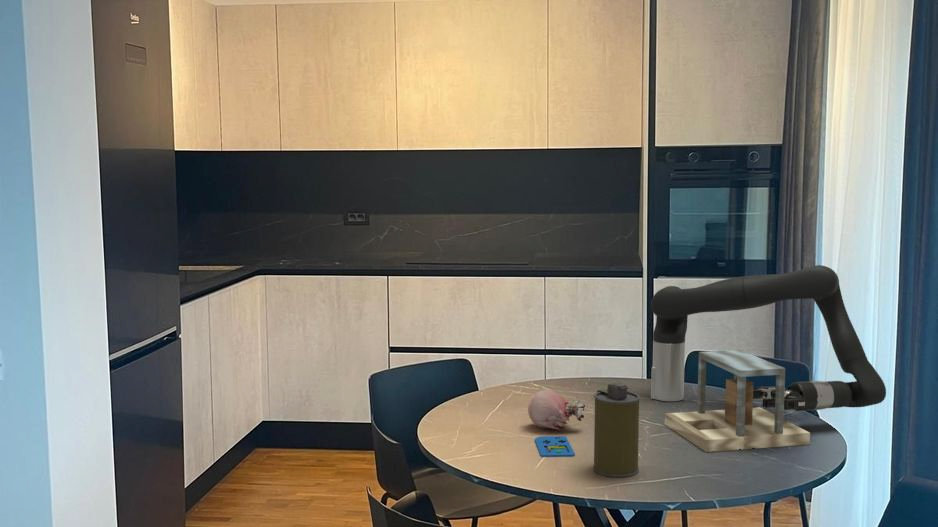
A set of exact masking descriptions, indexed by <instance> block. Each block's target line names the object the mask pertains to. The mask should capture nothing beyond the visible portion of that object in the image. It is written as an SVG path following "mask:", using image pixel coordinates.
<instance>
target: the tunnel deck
mask: <svg viewBox="0 0 938 527" xmlns="http://www.w3.org/2000/svg"><path fill="white" fill-rule="evenodd" d="M707 362H708V363H710V364H712V365H714V366H716V367H718V368H721V369H723V370H725V371H727V372H729V373H731V374H733V379H737V407H736V426H734V425H732V424H730V423H728V422H727V421H725V409H714V410H706V392H707V390H706V387H707ZM697 367H698V369H697V370H698V371H697V373H698V374H697V405H696V406H697V409H696V411H682V412H666V413H664V426H666V427H667V428H669V429H670V430H673V431H674V432H676V433H677V434H678V435H679V436H681V437H683V438H684V439H686V440H688V442H690V443H692V444H693V445H694V444H695V446H696V447H697V446H698V447H697V448H699V449H700V450H702V451H704V452H705V453H711V452H712V453H713V451H714V452H726V451H739V449H741V450H750V449H751V450H753V449H752V448H755V449H765V448H767V449H768V448H777V447H778V448H781V447H793V446H794V447H795V446H805V445H807V446H808V445H811V444H810V443H811V442H810V440H811V432H810V431H808V430H806V429H804V428H801V427H800V426H797V425H796V424H794V423H791V422H790V421H789V420H785V419H784V413H785V410H784V393H785V387H786V368H785V367H784V366H781V365H778V364H775V363H774V362H771V361H769V360H766V359H763V358H761V357H758V356H756V355H753V354H751V353H749V352H746V351H744V350H741V349H733V350H732V349H731V350H729V349H728V350H713V351H711V350H710V351H699V352H698V366H697ZM763 376H765V377H766V376H775V386H776V398H775V407H774V408H775V409H774V413H772V412H770V411H769V410H766V409H764V408H762V407H760V406H758V407H753V413H752V425H745V397H746V379H747V377H763Z"/></svg>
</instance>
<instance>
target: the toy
mask: <svg viewBox="0 0 938 527" xmlns="http://www.w3.org/2000/svg"><path fill="white" fill-rule="evenodd" d="M568 404H569V405H568ZM577 404H578V405H577ZM585 407H586V405H585V404H583V403H582V402H580V400H575V401H574V402H572V401H569V400H567V399H565V398H564V397H562V395H560V394H559V393H557V392H556V391H554V390H550V389H545V390H544V389H543V390H539V391H537V392H536V393H535V394H534V395H533V397H532V399H531V400H530V402H529V404H528V406H527V413H528V416H529V419H530V420H531V422H532V423H533V424H534V425H536V427H539V428H542V429H548V428H549V429H551V430H553V431H555V430H557V431H559V432H561V429H559V428H558V427H564V426H565V425H566V426H569V423H568V422H570V419H569V418H570V417H572V416H575V417H576V419H577V421H579V422H581V421H582V419H583V418H585V415H584V414H583V411H585ZM567 421H568V422H567Z"/></svg>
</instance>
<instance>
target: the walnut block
mask: <svg viewBox="0 0 938 527" xmlns="http://www.w3.org/2000/svg"><path fill="white" fill-rule="evenodd" d="M753 390H754V382H753V381H751V380H749V379H747V378H746V397H745V425H752V413H753V408H754V406H753V405H754V399H753ZM724 402H725V405H724V410H725V421H727V422H728V423H730V424H732V425H734V426H736V407H737V379H734V378H726V379H725V401H724Z"/></svg>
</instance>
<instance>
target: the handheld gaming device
mask: <svg viewBox="0 0 938 527" xmlns="http://www.w3.org/2000/svg"><path fill="white" fill-rule="evenodd" d="M534 443H535V445H536V448H537V450H538V453H539V456H540V458H562V457H563V458H565V457H567V458H569V457H570V458H573V457H575V456H576V454H575V453H576V452H575V451H574V449H573V447H572V446H571V443H570V441H569V439H568V438H567V436H566V435H555V436H554V435H552V436H551V435H549V436H547V435H545V436H544V435H543V436H542V435H541V436H537V437H535V438H534Z"/></svg>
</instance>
